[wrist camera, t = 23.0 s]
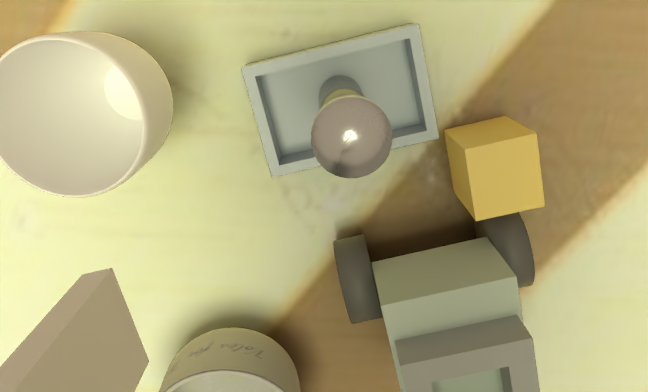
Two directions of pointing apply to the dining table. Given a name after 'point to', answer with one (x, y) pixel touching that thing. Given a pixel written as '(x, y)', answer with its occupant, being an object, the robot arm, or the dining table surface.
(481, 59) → the dining table surface
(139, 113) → the mug
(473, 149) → the block
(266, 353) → the teacup
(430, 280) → the trolley
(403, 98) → the tray
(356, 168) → the flashlight
